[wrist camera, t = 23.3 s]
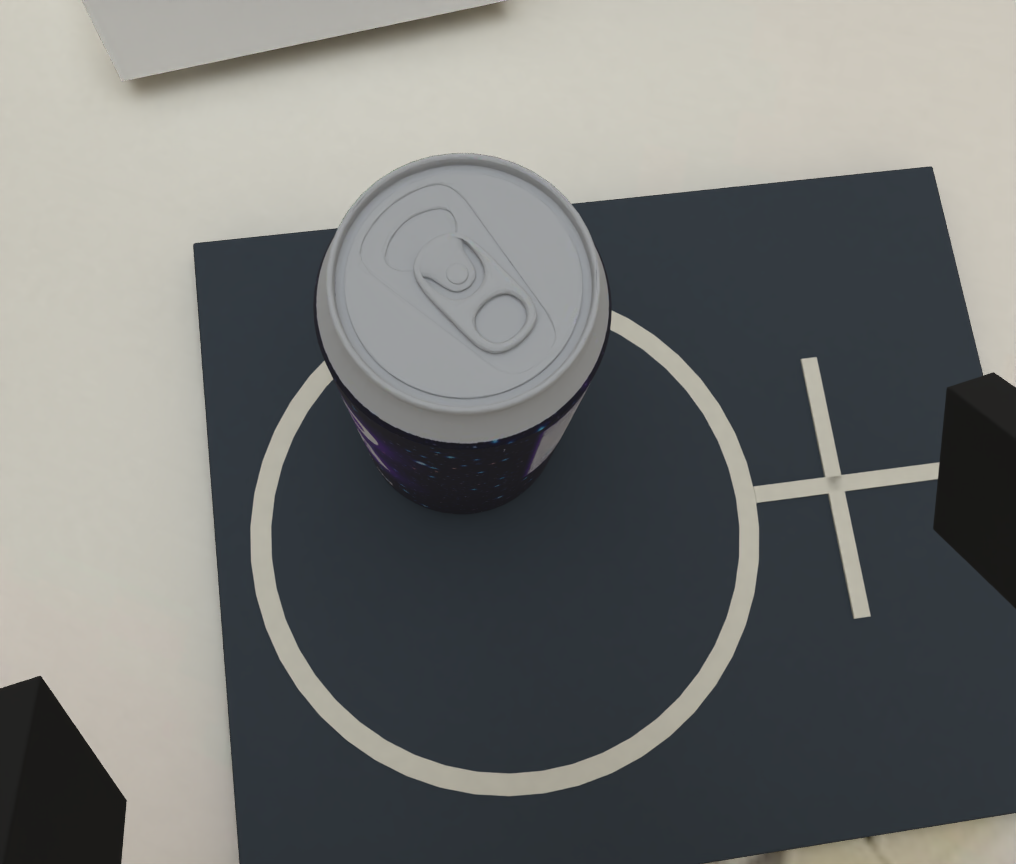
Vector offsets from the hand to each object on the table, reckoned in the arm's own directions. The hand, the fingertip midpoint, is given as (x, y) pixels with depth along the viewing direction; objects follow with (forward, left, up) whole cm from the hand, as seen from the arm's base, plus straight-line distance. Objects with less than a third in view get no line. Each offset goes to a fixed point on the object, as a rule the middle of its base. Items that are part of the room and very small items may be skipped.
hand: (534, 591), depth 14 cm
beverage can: (0, +6, -14) cm, 15 cm away
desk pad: (+4, +2, -15) cm, 16 cm away
